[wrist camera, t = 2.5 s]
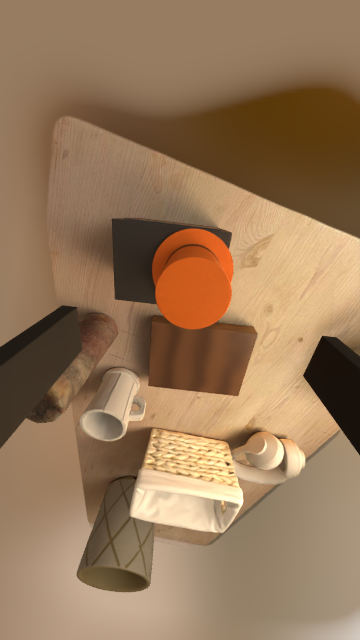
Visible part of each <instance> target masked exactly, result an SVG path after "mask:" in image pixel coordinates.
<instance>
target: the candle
mask: <svg viewBox="0 0 360 640" xmlns="http://www.w3.org/2000/svg"><path fill="white" fill-rule="evenodd" d="M79 328H80V336H81V344H82V351H81V352H80V353H79V355H78V356H77V357H76V358H75V359H74V361H73V362H72V363H71V364H70V365H69V367H68V368H67V369H66V370H65V371H64V373H63V374H62V375H61V376H60V377H59V379H58V380H57V381H56V382H55V383H54V385H53V386H52V387H51V388H50V389H49V391H48V392H47V393H46V394H45V395H44V397H43V398H42V399H41V400H40V401H39V403H38V404H37V405H36V406H35V407H34V409H33V410H32V411H31V412H30V413H29V415H28V416H27V417H26V418H27V419H29V420H31V421H34V422H37V423H47V422H53V421H55V420H57V419H58V418H59V417H61V416H62V414H63V413H64V412H65V411H66V409H67V408H68V406H69V405H70V403H71V402H72V400H73V399H74V398H75V396H76V394H77V393H78V391H79V390H80V388H81V387H82V385H83V384H84V383H85V381H86V380H87V378H88V377H89V375H90V374H91V372H92V371H93V370H94V368H95V366H96V365H97V364H98V362H99V361H100V359H101V358H102V356H103V355H104V354H105V352H106V351H107V349H108V348H109V347H110V345H111V344H112V342H113V341H114V339H115V338H116V336H117V334H118V330H117V326H116V324H115V322H114V321H113V320H112V319H111V318H110V317H108V316H106V315H103V314H98V313H90V314H88V315H86V316H85V317H84V318H82V319H81V320H80V321H79Z"/></svg>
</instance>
